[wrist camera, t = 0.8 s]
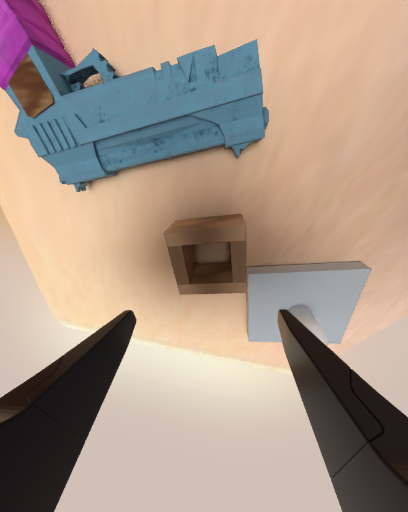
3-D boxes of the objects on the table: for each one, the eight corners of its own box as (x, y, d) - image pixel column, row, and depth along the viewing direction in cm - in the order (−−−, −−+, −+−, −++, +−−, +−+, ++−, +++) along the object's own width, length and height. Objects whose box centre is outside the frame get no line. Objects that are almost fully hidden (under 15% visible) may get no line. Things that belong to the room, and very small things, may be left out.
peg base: (360, 261, 17) (413, 296, 12) (333, 333, 22) (362, 377, 18) (246, 267, 19) (254, 299, 14) (247, 332, 24) (253, 371, 20)
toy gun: (256, -225, 7) (261, 153, 14) (-40, -35, 11) (80, 193, 18) (290, -628, 4) (274, 149, 11) (-175, -138, 7) (43, 200, 14)
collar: (241, 213, 16) (245, 225, 13) (242, 270, 19) (246, 292, 16) (176, 220, 17) (163, 233, 14) (187, 273, 20) (180, 294, 17)
